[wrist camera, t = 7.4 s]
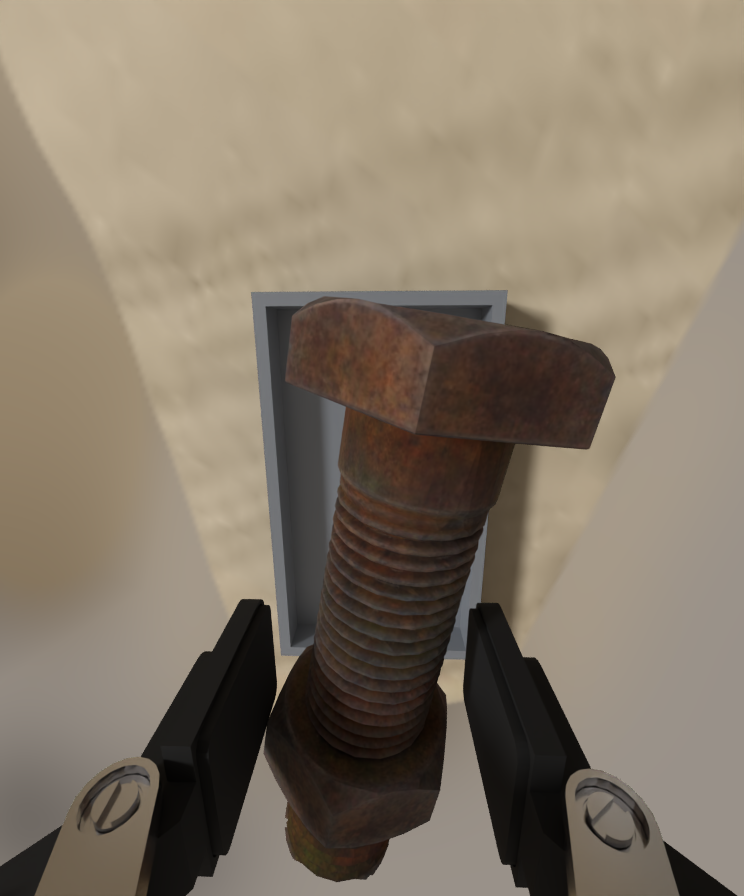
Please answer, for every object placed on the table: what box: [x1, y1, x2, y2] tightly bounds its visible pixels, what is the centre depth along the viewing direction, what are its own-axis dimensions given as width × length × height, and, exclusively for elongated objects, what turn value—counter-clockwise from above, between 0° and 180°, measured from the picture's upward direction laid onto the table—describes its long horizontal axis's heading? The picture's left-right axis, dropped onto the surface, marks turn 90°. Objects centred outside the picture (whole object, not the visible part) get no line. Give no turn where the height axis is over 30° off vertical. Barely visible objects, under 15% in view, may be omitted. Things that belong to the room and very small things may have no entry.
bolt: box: [264, 296, 615, 882], centre depth 10 cm, size 6×5×15 cm
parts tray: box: [251, 290, 508, 660], centre depth 21 cm, size 11×20×2 cm, turn 0°
